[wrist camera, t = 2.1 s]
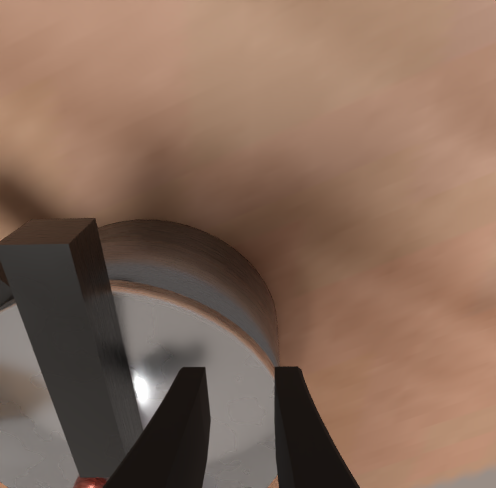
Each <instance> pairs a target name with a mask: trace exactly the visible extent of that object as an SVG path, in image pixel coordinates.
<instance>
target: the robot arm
mask: <svg viewBox="0 0 496 488" xmlns="http://www.w3.org/2000/svg"><path fill="white" fill-rule="evenodd" d="M210 424H211V416H210V406H209V397H208V387H207V377H206V368H205V367H182V368H181V369H180V370H179V372H178V374H177V376H176V378H175V379H174V381H173V383H172V385H171V387H170V389H169V390H168V392H167V394H166V395H165V397H164V399H163V400H162V402H161V404H160V405H159V407H158V409H157V410H156V412H155V414H154V415H153V417H152V418H151V420H150V421H149V423H148V424H147V426H146V427H145V429H144V430H143V432H142V433H141V435H140V437H139V438H138V439H137V441H136V442H135V444H134V445H133V447H132V448H131V449H130V451H129V452H128V454H127V455H126V456H125V458H124V459H123V461H122V462H121V463H120V465H119V466H118V467H117V469H116V470H115V472H114V473H113V474H112V476H111V477H110V478H109V480H108V481H107V482H106V483H105V485H104V486H103V487H102V488H202V486H203V480H204V475H205V470H206V464H207V458H208V447H209V436H210ZM274 425H275V452H276V465H277V473H278V482H279V488H360V487H359V485H358V484H357V482H356V480H355V479H354V477H353V475H352V474H351V472H350V470H349V469H348V467H347V465H346V464H345V462H344V460H343V459H342V457H341V455H340V453H339V451H338V450H337V448H336V446H335V444H334V442H333V440H332V438H331V437H330V435H329V433H328V431H327V429H326V427H325V425H324V423H323V421H322V419H321V417H320V415H319V413H318V411H317V409H316V407H315V404H314V402H313V400H312V398H311V395H310V393H309V390H308V388H307V385H306V383H305V380H304V377H303V374H302V370H301V369H300V368H299V367H275V377H274Z"/></svg>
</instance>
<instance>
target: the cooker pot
mask: <svg viewBox="0 0 496 488" xmlns="http://www.w3.org/2000/svg"><path fill="white" fill-rule="evenodd" d="M98 233H99V237H100V241H101V246H102V250H103V255H104V259H105V264H106V268H107V272H108V277H109V280H122V281H128V282H135V283H141V284H147V285H151V286H155V287H158V288H162V289H166V290H170V291H173V292H175V293H178V294H181V295H183V296H186V297H188V298H191V299H194V300H196V301H198V302H200V303H202V304H204V305H206V306H208V307H210V308H211V309H213V310H215V311H217V312H219V313H220V314H222V315H223V316H225V317H226V318H228V319H229V320H231V321H232V322H234V323H235V324H236V325H238V326H239V327H240V328H241V329H242V330H243V331H245V332H246V333H247V334H248V335H249V336H250V337H251V338H253V340H254V341H255V342H256V343H257V344H258V345H259V346H260V347H261V349H262V350H263V351H264V352H265V353H266V354H267V356H268V357H269V359H270V361H271V362H272V364H273V365H274V367H280V356H279V342H278V329H277V318H276V311H275V307H274V303H273V300H272V297H271V295H270V292H269V290H268V288H267V286H266V284H265V282H264V281H263V279H262V278H261V276H260V275H259V273H258V272H257V271H256V270H255V268H254V267H253V266H252V265H251V264H250V263H249V262H248V261H247V260H246V259H245V258H244V257H243V256H242V255H241V254H240V253H238V252H237V251H236V250H235V249H233V248H232V247H230V246H229V245H227V244H226V243H225V242H223V241H222V240H220V239H218V238H216V237H214V236H212V235H210V234H208V233H206V232H203V231H201V230H198V229H195V228H193V227H190V226H186V225H182V224H178V223H174V222H168V221H160V220H132V221H123V222H118V223H114V224H110V225H106V226H103V227H101V228H98ZM12 299H14V296H13V294H12V291H11V288H10V286H9V283H8V280H7V277H6V275H5V272H4V269H3V267H2V264H1V261H0V307H1V306H3V305H4V304H5V303H7V302H8V301H10V300H12Z"/></svg>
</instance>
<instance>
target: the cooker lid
mask: <svg viewBox="0 0 496 488" xmlns="http://www.w3.org/2000/svg"><path fill="white" fill-rule="evenodd" d="M0 261H1V264H2V267H3V269H4V272H5V275H6V277H7V280H8V283H9V286H10V288H11V291H12V294H13V296H14V299H12V300H10V301H8V302H7V303H5V304H4V305H3V306H1V307H0V482H1V483H3V484H4V485H5V486H7V487H8V488H102V487H103V486H104V485H105V483H106V482H107V481H108V480H109V478H110V477H111V476H112V474H113V473H114V472H115V470H116V469H117V467H118V466H119V465H120V463H121V462H122V461H123V459H124V458H125V456H126V455H127V454H128V452H129V451H130V449H131V448H132V447H133V445H134V444H135V442H136V441H137V439H138V438H139V437H140V435H141V433H142V432H143V430H144V429H145V427H146V426H147V424H148V423H149V421H150V420H151V418H152V417H153V415H154V414H155V412H156V410H157V409H158V407H159V405H160V404H161V402H162V400H163V399H164V397H165V395H166V394H167V392H168V390H169V389H170V387H171V385H172V383H173V381H174V379H175V378H176V376H177V374H178V372H179V370H180V369H181V368H182V367H205V368H206V377H207V387H208V397H209V406H210V416H211V424H210V436H209V447H208V458H207V464H206V470H205V475H204V480H203V486H202V488H267V487H268V486H269V485H270V484H271V482H272V481H273V480H274V479H275V477H276V476H277V474H278V473H277V465H276V452H275V425H274V377H275V367H274V365H273V364H272V362H271V361H270V359H269V357H268V356H267V354H266V353H265V352H264V351H263V350H262V349H261V347H260V346H259V345H258V344H257V343H256V342H255V341H254V340H253V338H251V337H250V336H249V335H248V334H247V333H246V332H245V331H243V330H242V329H241V328H240V327H239V326H238V325H236V324H235V323H234V322H232V321H231V320H229V319H228V318H226V317H225V316H223V315H222V314H220V313H219V312H217V311H215V310H213V309H211V308H210V307H208V306H206V305H204V304H202V303H200V302H198V301H196V300H194V299H191V298H188V297H186V296H183V295H181V294H178V293H175V292H173V291H170V290H166V289H162V288H158V287H155V286H151V285H147V284H141V283H135V282H128V281H122V280H109V277H108V272H107V268H106V264H105V259H104V255H103V250H102V246H101V241H100V237H99V233H98V228H97V224H96V219H95V218H77V219H31V220H30V221H28V222H27V223H26V224H24V225H23V226H21V227H20V228H18V229H17V230H16V231H14V232H13V233H11V234H10V235H8V236H7V237H5V238H4V239H3V240H1V241H0Z"/></svg>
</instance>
